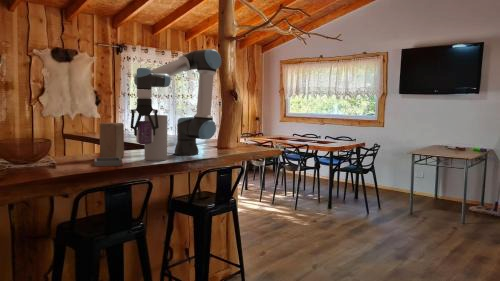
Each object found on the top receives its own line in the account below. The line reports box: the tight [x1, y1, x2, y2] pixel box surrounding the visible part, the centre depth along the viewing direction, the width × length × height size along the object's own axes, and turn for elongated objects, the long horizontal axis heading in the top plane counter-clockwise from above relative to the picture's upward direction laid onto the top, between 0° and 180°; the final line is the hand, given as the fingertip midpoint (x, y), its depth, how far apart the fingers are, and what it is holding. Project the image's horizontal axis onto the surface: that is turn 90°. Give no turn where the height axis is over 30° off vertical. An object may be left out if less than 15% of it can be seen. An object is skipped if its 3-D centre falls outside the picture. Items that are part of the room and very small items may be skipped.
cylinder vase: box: [144, 114, 168, 162], centre depth 226 cm, size 12×12×25 cm
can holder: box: [93, 157, 123, 168], centre depth 207 cm, size 13×13×2 cm
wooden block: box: [99, 122, 125, 159], centre depth 227 cm, size 10×10×20 cm
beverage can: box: [137, 120, 152, 145], centre depth 211 cm, size 7×7×12 cm
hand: (144, 141), depth 212 cm, fingers closed on beverage can, 7 cm apart
